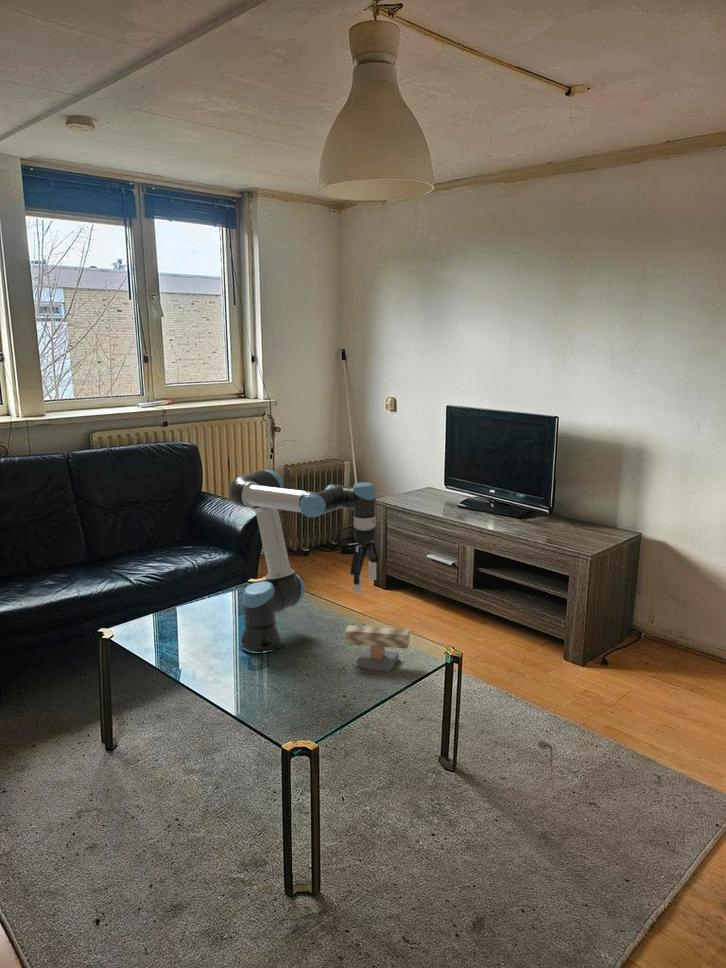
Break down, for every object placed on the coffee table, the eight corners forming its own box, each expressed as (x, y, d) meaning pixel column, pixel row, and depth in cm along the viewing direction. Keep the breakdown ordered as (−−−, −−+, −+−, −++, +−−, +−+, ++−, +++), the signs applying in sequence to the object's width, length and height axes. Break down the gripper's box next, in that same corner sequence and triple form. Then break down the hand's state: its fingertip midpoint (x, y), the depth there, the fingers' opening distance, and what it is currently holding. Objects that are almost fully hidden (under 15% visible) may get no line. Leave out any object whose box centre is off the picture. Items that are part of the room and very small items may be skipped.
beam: (409, 642, 240) (409, 629, 239) (407, 648, 235) (407, 635, 234) (348, 638, 245) (348, 625, 244) (345, 644, 240) (344, 631, 239)
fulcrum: (356, 666, 239) (356, 646, 238) (367, 654, 248) (366, 635, 247) (389, 672, 235) (388, 651, 233) (398, 659, 244) (398, 639, 242)
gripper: (360, 538, 224) (361, 599, 228) (387, 519, 246) (387, 575, 251) (339, 536, 227) (340, 596, 231) (368, 517, 249) (368, 573, 254)
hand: (365, 585), depth 241 cm, fingers open, 13 cm apart
